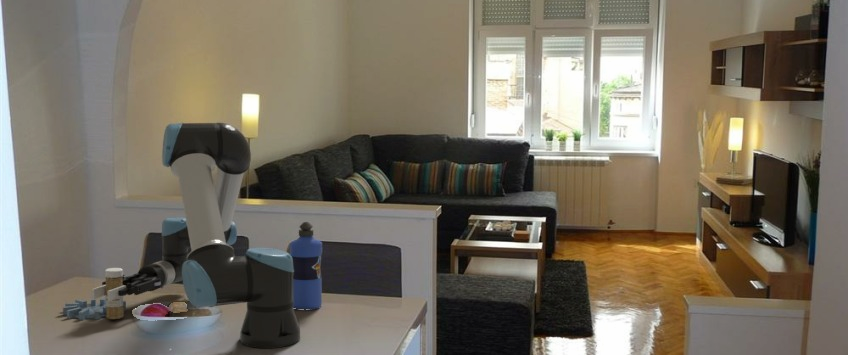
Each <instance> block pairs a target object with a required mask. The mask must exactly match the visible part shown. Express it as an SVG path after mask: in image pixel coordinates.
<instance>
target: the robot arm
mask: <svg viewBox="0 0 848 355" xmlns="http://www.w3.org/2000/svg"><path fill="white" fill-rule="evenodd" d="M162 140H163V141H162V151H161V152H162V153H161V155H162V156H161V158H162V160H161V161H162V165H163V167H166V168H170V171H171V172H170V173H171V174H172V176H175V177H176V178H177V179H178V183H179V187H180V188H179V189H180V194H181V198H182V199H181V200H182V206H183V210H184V216H185V217H182V216H181V217H177V216H176V217H168V218H165V219H163V221H162V223H161V225H162V226H161V244H162V246H161V249H162V250H161V251H162V254H161V256H162V257H161V258H162V260H159V261H156V262H153V263H151V264H148V265H145V266H142V267H141V268H140V269H139V270H138V271H137V273H134V274H133V275H129V276H126V275H125V274H123V277H122V285H123V286H120V287H117V288H114V289H112V290H109V291H107V294H108V301H112V300H115V299H117V298H120V297H123V298H124V297H125V296H131V295H133V294H134V296H139V295H141V294H142V295H143V293H148V292H153V291H156V290H158V289H164V287H166V286H168V285H172V284H174V283H178V282H182V285H183V287H184V292H185V295H186V297H187V300H188V302H189V303H190V304H191V305H192V306H194V307H196V308H207V307H208V308H214V307H218V306H225V305H236V304H244V303H245V304H246V313H245V316H244V319H243V322H242V326H241V328H240V333H239V336H240V339H239V341H240V342H241V344H243V345H244V346H248V347H251V348H257V349H258V348H259V349H260V348H261V349H272V348H276V349H277V348H283V347H287V346H290V345H291V346H292V345H294V344H296V343H297V342H298V341H300V340H301V328H300V325H299V321H298V319H297V316H296V314H295V313H296V312H295V310H294V309H293V272H294V269H293V259H292V256H291V255H290V252H287V251H284V250H281V249H278V248H277V249H276V248H270V247H269V248H268V247H252V248H251V247H250V248H248V249H247V250H246V252H245V255H238V256H237V255H236V254H235V249H234V248H233V246H232V245H234V244H235V243H236V241H237V235H238V229H237V226H236V225H237V224H236V223H235V222H234V221H233V218H234V217H235V212H236V207H237V203H238V199H239V195H240V191H241V190H240V189H241V186H242V183H243V178H244V174H245V173H247V171H249V168H250V166H251V165H250V164H251V160H252V159H251V158H252V153H251V152H252V151H251V148H250V145H249V142H248V140H247V137H245V135H244V134H243V133H242V132H241V131H240V130H239V129H238V128H237V127H235V126H233V125H231V124H230V123H226V122H195V123H193V122H188V123H187V122H186V123H184V122H183V121H182V122H180V123H177V122H176V123H169V124H167V126H166V127H165V129H164V134H163V139H162ZM216 167H217V169H216V174H215V178H214V179H213V175H212V172H213V171H214V170H215V168H216ZM189 249H190V252H189ZM101 283H102V284H101V285H99V286H97V287H94V288H92V289H91V297H92V299H95V300H96V299H99V298H101V297H102V298H103V297H106V280H104V281H102V282H101Z"/></svg>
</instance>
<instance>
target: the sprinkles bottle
mask: <svg viewBox="0 0 848 355" xmlns="http://www.w3.org/2000/svg"><path fill="white" fill-rule="evenodd" d="M123 275H124V270H123V268H121V267H109V268H106V269H105V271H104V277H105V281H106V295H105V297H106V310H107V315H106V317H105V318H107V319H108V320H116V319H117V320H118V319H119V320H120V319H121V318H123V317H124V313H123V301H124V296H123V297H120V298H117V299H115V300H112V301H108V294H107V291H109V290H112V289H114V288H117V287H120V286H123V285H122V277H123Z"/></svg>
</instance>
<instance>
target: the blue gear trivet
mask: <svg viewBox="0 0 848 355" xmlns="http://www.w3.org/2000/svg"><path fill="white" fill-rule="evenodd" d="M125 310H127V302H126V300H123V314H124V313H125ZM106 315H107V310H106V296H103V297H102V298H100V300H99V302H96V299H92V296H91V297H89V303H87V300H83V299H80V298H78V299H75V300H74V302H66V303H65V305H64V306H62V316H63V317H64V316H66V319H69V320H70V319H78V320H79V321H85V320H90V319H92V320H93V319H94V320H95V321H96V320H101V318H107V317H106Z"/></svg>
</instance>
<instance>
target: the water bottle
mask: <svg viewBox="0 0 848 355" xmlns="http://www.w3.org/2000/svg"><path fill="white" fill-rule="evenodd" d="M299 228H300V229H298V236H299V237H298V238H297V239H294V240H293V241H291V242H289V254H290V255H291V256H292V259H293V269H294V272H293V308H296V309H304V310H306V309H316V308H319V307H321V308H322V306H321V305H322V304H323V303H322V302H323V301H322V298H323V297H322V293H323V292H322V289H323V288H322V287H323V286H322V283H323V282H322V279H323V278H322V272H321V264H322V263H321V261H322V254H323V242H322V241H320V240H318V239H316V238H315V237H314V229H312V228H313V225H312V224H311V223H310V222H308V221H305V222H302V223H301V224H300V225H299ZM319 309H320V308H319ZM316 310H317V309H316Z"/></svg>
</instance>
